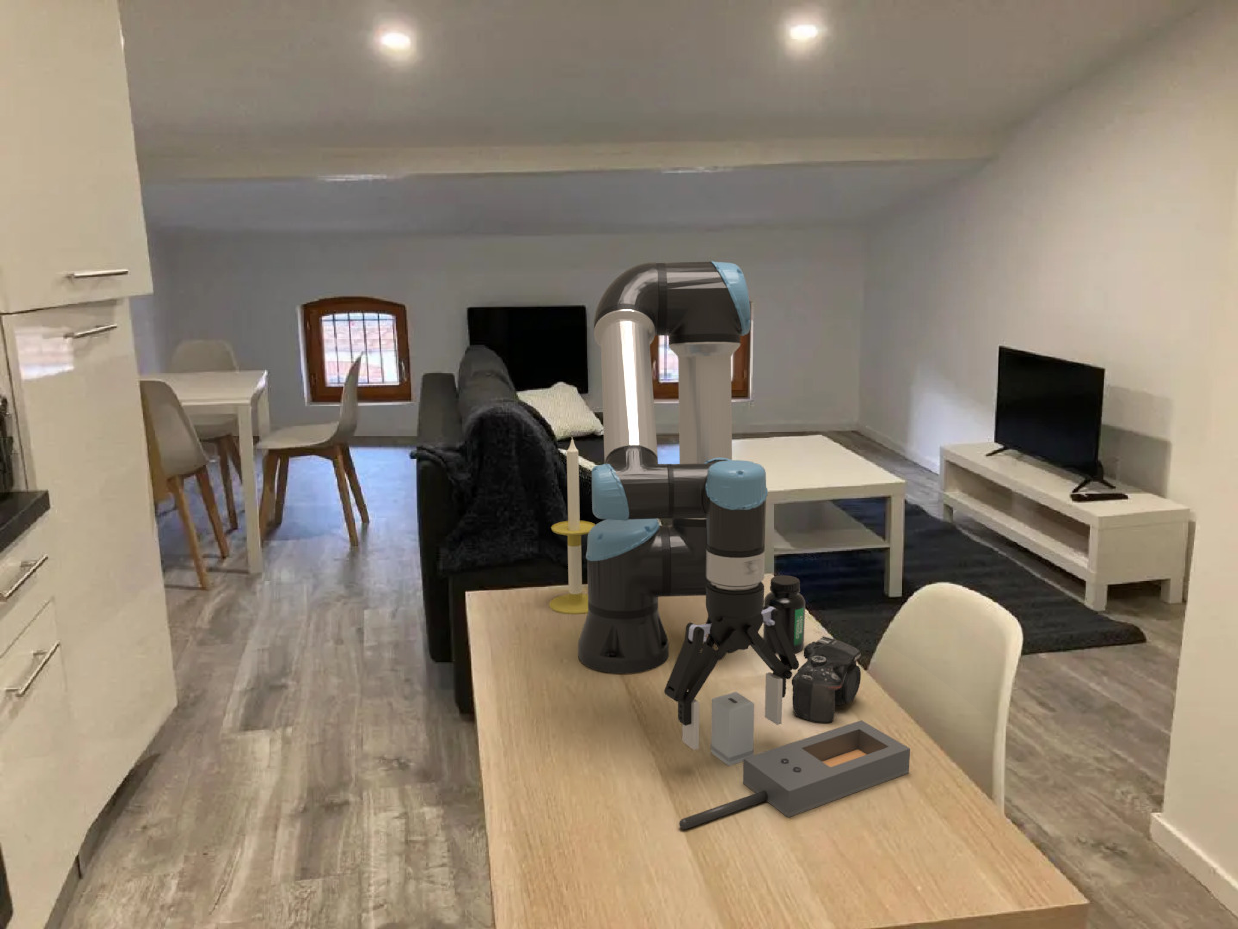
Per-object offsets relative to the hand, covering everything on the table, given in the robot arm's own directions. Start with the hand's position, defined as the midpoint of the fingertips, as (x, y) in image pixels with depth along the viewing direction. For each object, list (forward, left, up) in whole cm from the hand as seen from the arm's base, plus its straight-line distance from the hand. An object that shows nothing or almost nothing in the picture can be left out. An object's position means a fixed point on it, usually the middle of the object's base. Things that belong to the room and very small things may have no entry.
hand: (732, 732), depth 135 cm
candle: (-61, +8, -4) cm, 62 cm away
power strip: (+11, +1, -4) cm, 11 cm away
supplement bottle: (-25, +29, -4) cm, 39 cm away
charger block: (0, 0, -4) cm, 4 cm away
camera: (-6, +21, -4) cm, 22 cm away
